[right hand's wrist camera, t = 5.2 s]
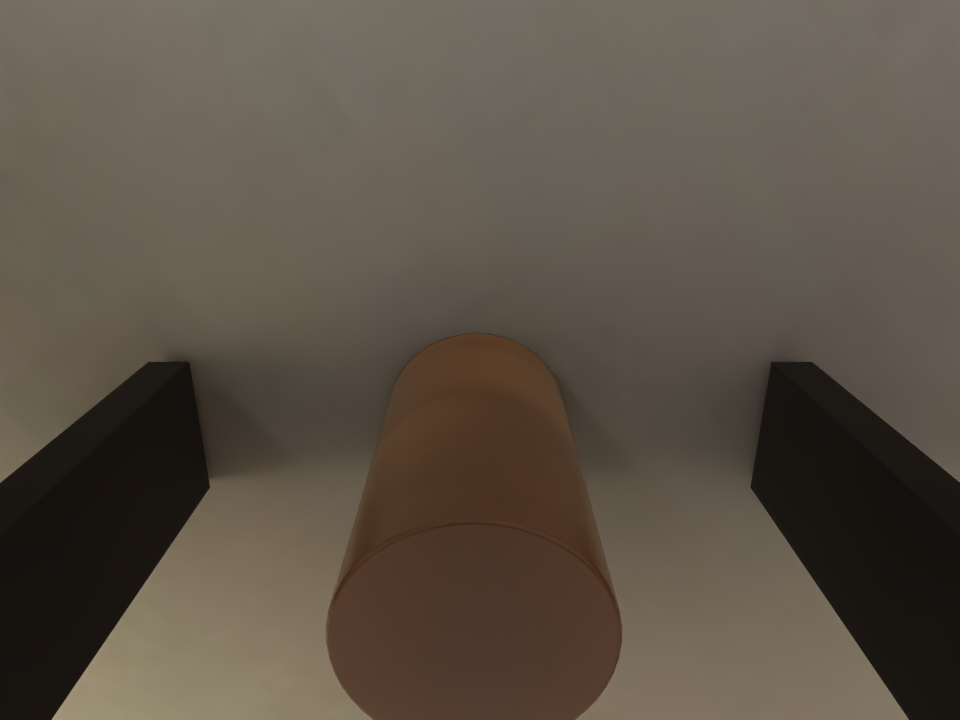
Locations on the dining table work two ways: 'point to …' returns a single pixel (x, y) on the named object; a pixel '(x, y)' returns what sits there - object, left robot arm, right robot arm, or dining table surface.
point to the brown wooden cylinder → (474, 550)
